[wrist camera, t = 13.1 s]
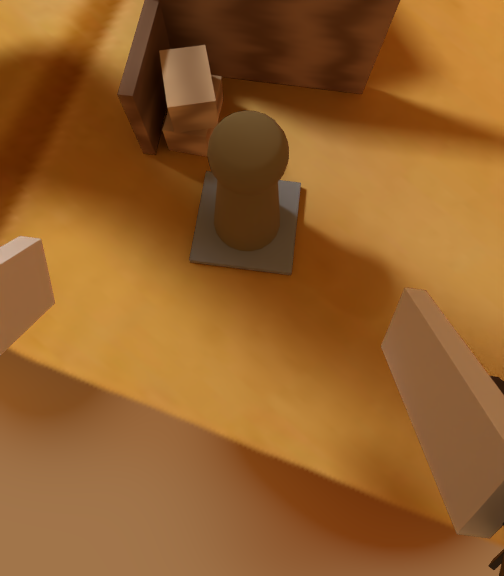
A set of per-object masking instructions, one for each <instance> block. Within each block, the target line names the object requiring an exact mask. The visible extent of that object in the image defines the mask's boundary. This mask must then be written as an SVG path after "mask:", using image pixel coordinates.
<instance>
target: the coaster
mask: <svg viewBox="0 0 504 576" xmlns="http://www.w3.org/2000/svg"><path fill="white" fill-rule="evenodd" d="M300 186H301V183H298V182H290V181H282V180H279V181H278V191H279V209H280V227H279V230H278V233H277V235H276V237H275V238H274V239H273V240H272V242H271V243H270V244H268V245H266V246H265V247H263V248H262V249H258V250H254V251H239V250H236V249H233V248H231V247H229V246H228V245H226V244H225V243H224V242H222V240H221V239H220V238H219V236H218V235H217V233H216V230H215V227H214V213H215V202H216V191H217V179H216V178H215V176H214V175H213V173H212V172H210V171H206V174H205V179H204V185H203V190H202V195H201V201H200V206H199V211H198V216H197V222H196V227H195V232H194V238H193V243H192V248H191V253H190V259H189V260H190V262H193V263H200V264H208V265H216V266H224V267H231V268H239V269H247V270H255V271H263V272H270V273H278V274H286V275H291V273H292V265H293V255H294V245H295V235H296V225H297V216H298V206H299V196H300Z"/></svg>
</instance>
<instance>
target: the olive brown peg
mask: <svg viewBox="0 0 504 576" xmlns="http://www.w3.org/2000/svg"><path fill="white" fill-rule="evenodd" d="M207 156H208V161H209V165H210V168H211V171H212V173H213V175H214V176H215V178H216V179H217V191H216V202H215V213H214V227H215V230H216V233H217V235H218V236H219V238H220V239H221V240H222V242H224V243H225V244H226V245H228V246H229V247H231V248H233V249H236V250H239V251H254V250H258V249H262V248H263V247H265V246H266V245H268V244H270V243H271V242H272V240H273V239H274V238H275V237H276V235H277V233H278V230H279V227H280V209H279V191H278V181H279V180H280V179H281V177H282V176H283V174H284V172H285V169H286V166H287V164H288V159H289V146H288V141H287V139H286V136H285V133H284V131H283V130H282V129H281V128H280V126H279V125H278V124H277V123H276V122H275V120H273V119H272V118H270V117H269V116H267V115H266V114H263V113H260V112H256V111H240V112H236V113H233V114H231V115H229V116H227V117H225V118H224V119H223V120H222V121H221V122H220V123H219V124H218V125H217V126H216V127H215V128H214V130H213V132H212V134H211V136H210V138H209V142H208V152H207Z"/></svg>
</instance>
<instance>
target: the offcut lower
mask: <svg viewBox="0 0 504 576" xmlns="http://www.w3.org/2000/svg"><path fill="white" fill-rule="evenodd" d="M211 78H212V83H213V88H214V93H215V99H216V106H217V116H218V119H219V115H220V111H221V107H222V103H223V89H222V76H216V75H211ZM213 130H214V128H209V129H202V130H194V131H187V132H180V133H175V132H174V129H173V125H172V122H171V118H170V115H169V111H168V113H167V116H166V119H165V123H164V126H163V129H162V131H163V134H164V137H165V140H166V143H167V146H168V149H169V150H172V151H178V152H183V153H189V154H195V155H201V156H207V152H208V142H209V138H210V136H211V134H212V132H213ZM207 157H208V156H207Z"/></svg>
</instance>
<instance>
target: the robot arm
mask: <svg viewBox="0 0 504 576" xmlns="http://www.w3.org/2000/svg"><path fill="white" fill-rule="evenodd" d="M54 304H55V300H54V295H53V291H52V286H51V282H50V277H49V272H48V268H47V263H46V259H45V254H44V249H43V245H42V240H41V239H39V238H31V237H24V236H19V237H17V238H15V239H14V240H12V241H10V242H8V243H7V244H5V245H3V246H1V247H0V355H1V354H2V353H3V352H4V351H5V350H6V349H7V348H8V347H10V346H11V345H12V344H13V343H14V342H15V341H16V340H17V339H18V338H19V337H20V336H21V335H22V334H23V333H24V332H25V331H26V330H27V329H28V328H29V327H30V326H32V325H33V324H34V323H35V322H36V321H37V320H38V319H39V318H40V317H41V316H42V315H43V314H44V313H45V312H46V311H47V310H48V309H49V308H50V307H51V306H52V305H54ZM381 348H382V350H383V353H384V355H385V358H386V360H387V363H388V365H389V368H390V370H391V373H392V375H393V378H394V380H395V383H396V385H397V387H398V390H399V392H400V395H401V397H402V400H403V402H404V405H405V407H406V410H407V412H408V415H409V417H410V420H411V422H412V425H413V427H414V429H415V432H416V434H417V437H418V439H419V442H420V444H421V447H422V449H423V452H424V454H425V457H426V459H427V462H428V464H429V466H430V469H431V471H432V474H433V476H434V479H435V481H436V484H437V486H438V489H439V491H440V494H441V496H442V499H443V501H444V504H445V506H446V508H447V511H448V513H449V516H450V518H451V521H452V523H453V526H454V528H455V531H456V533H457V534H459V535H467V536H474V537H482V538H491V537H492V536H493V535H494V534H495V533H496V532H497V531H498V530H499V529H500V528H501V527H502V526H503V525H504V381H502V380H501V379H500V378H499V377H494V376H489V375H488V373H487V372H486V371H485V369H484V368H483V367H482V365H481V364H480V363H479V361H478V360H477V358H476V357H475V356H474V354H473V353H472V352H471V350H470V349H469V348H468V346H467V345H466V344H465V342H464V341H463V340H462V338H461V337H460V336H459V334H458V333H457V332H456V330H455V329H454V328H453V326H452V325H451V324H450V322H449V321H448V319H447V318H446V317H445V315H444V314H443V313H442V311H441V310H440V309H439V307H438V306H437V305H436V303H435V302H434V301H433V299H432V298H431V297H430V295H429V294H428V293H427V291H426V290H420V289H413V288H404V290H403V293H402V295H401V298H400V300H399V303H398V305H397V308H396V310H395V312H394V315H393V317H392V320H391V322H390V325H389V327H388V330H387V332H386V335H385V337H384V340H383V342H382V345H381ZM500 564H502V565H501V569H500V573H499V576H504V549H503V550H502V551H501V552H500V553H499V554H498V555H497V556H496V557H495V558H494V559H493V560H492V561H491V563H490V564H489V567H490V568H492V569H493V570H495V569H496V568H497V567H498V566H499V565H500Z"/></svg>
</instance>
